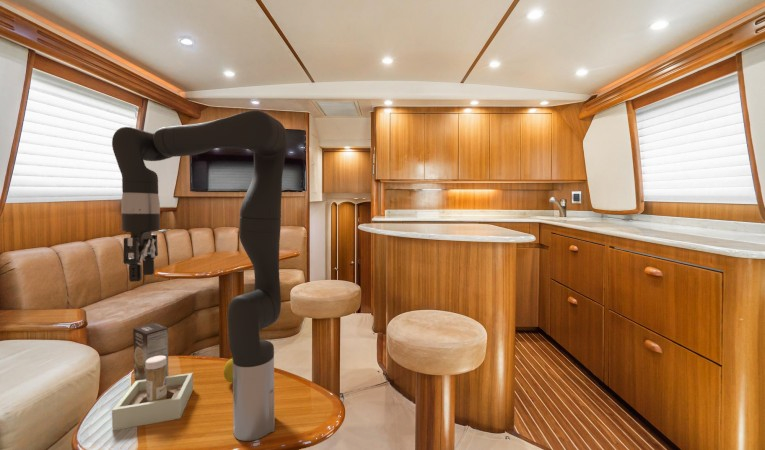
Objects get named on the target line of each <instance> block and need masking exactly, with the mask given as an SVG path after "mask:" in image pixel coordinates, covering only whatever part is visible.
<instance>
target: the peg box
mask: <svg viewBox="0 0 765 450" xmlns="http://www.w3.org/2000/svg"><path fill="white" fill-rule="evenodd" d="M166 385H167V393H166V396H167V397H166V399H165V400H159V401H153V402H147V389H146V379H145V380H138V379H137V380H135V381H134V383H133V384H132V385H131V386H130V388H129V389H128V390H127V391H126V393H124V395H123V396H122V397H121V399H120V400H119V401H118V402H117V403H116V404H115V406H114V407H113V408H112V410H111V418H112V419H111V421H112V431H118V430H125V429H128V428H129V429H130V428H135V427H140V426H145V425H151V424H156V423H162V422H167V421H173V420H179V419H181V418H182V415H183V413H184V410H185V408H186V406H187V404H188V402H189V399H190V398H191V395H192V393H193V390H194V372H188V373H181V374H174V375H168V376H166Z"/></svg>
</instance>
